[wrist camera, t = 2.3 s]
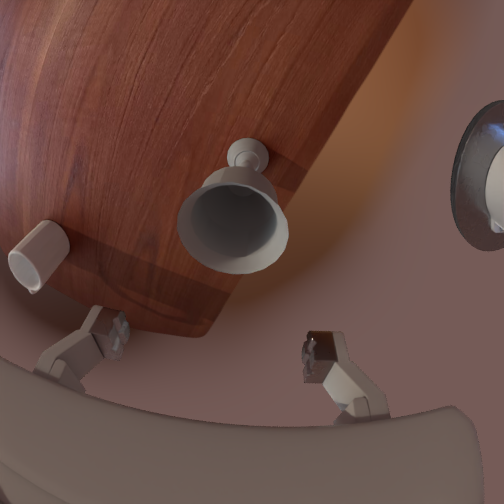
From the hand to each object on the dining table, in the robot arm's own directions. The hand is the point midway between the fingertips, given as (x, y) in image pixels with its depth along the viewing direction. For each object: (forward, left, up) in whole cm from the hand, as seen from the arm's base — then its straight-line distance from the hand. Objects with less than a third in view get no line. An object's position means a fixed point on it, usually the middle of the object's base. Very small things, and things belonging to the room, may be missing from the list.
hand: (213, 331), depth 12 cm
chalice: (0, 0, -26) cm, 26 cm away
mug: (+35, +17, -26) cm, 47 cm away
